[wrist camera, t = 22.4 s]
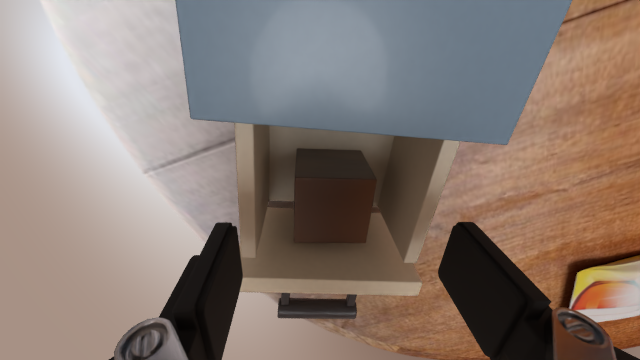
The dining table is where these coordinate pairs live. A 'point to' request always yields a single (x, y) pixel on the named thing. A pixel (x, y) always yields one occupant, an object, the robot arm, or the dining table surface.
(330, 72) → the cabinet
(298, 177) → the block
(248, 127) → the drawer
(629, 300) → the food package
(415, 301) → the dining table surface
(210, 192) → the dining table surface
